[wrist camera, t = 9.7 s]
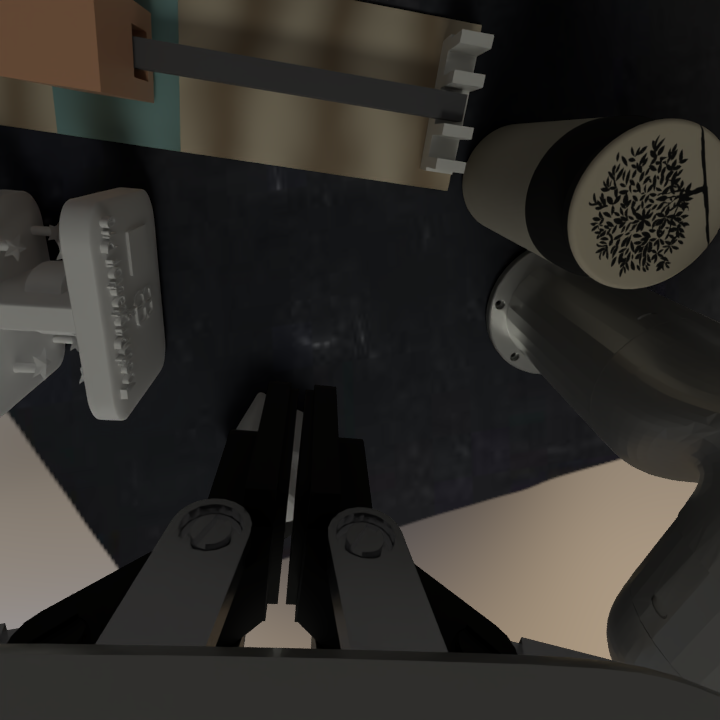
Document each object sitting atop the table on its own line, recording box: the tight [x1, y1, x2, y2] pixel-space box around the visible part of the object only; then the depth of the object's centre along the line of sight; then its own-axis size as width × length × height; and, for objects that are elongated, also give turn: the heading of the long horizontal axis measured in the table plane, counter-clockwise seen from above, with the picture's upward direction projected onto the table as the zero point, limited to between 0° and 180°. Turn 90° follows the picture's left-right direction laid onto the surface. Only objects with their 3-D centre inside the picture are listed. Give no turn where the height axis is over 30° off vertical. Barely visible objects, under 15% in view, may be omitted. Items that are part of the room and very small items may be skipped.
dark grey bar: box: [132, 36, 468, 122], centre depth 30 cm, size 30×2×2 cm, turn 82°
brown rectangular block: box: [0, 0, 154, 103], centre depth 27 cm, size 5×5×9 cm
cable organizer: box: [0, 187, 165, 420], centre depth 33 cm, size 15×11×12 cm
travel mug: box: [462, 115, 720, 289], centre depth 29 cm, size 8×8×18 cm
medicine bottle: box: [236, 392, 303, 539], centre depth 41 cm, size 7×7×12 cm
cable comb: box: [420, 29, 494, 174], centre depth 32 cm, size 2×8×6 cm, turn 172°
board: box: [0, 0, 482, 191], centre depth 33 cm, size 33×11×1 cm, turn 82°
